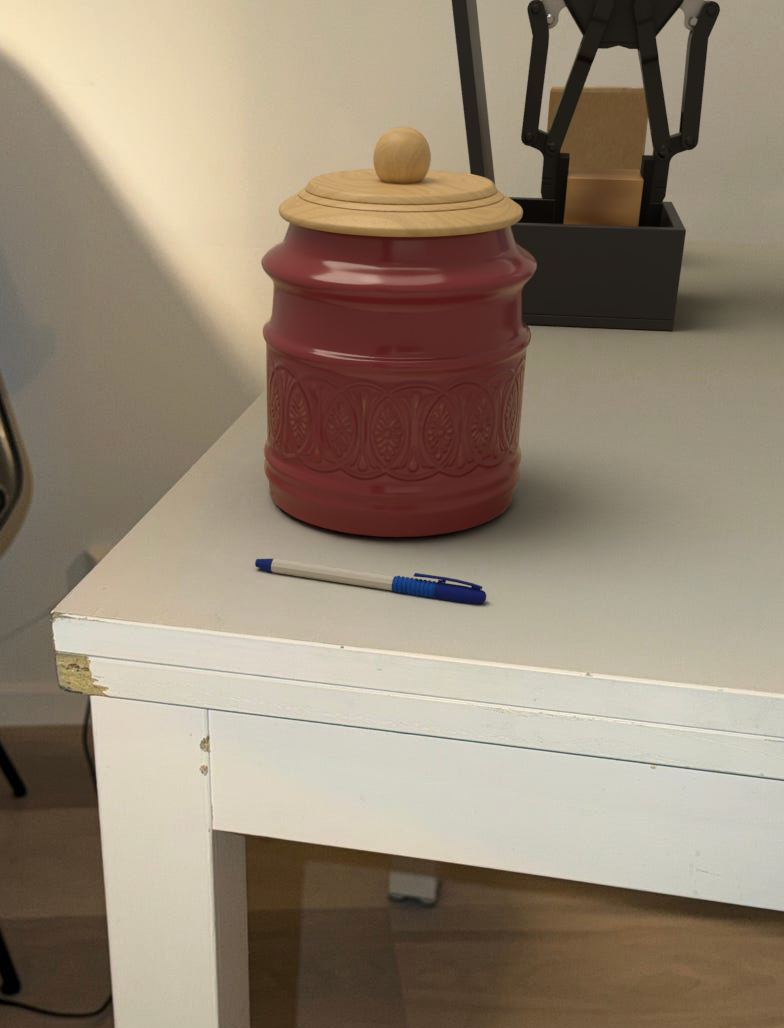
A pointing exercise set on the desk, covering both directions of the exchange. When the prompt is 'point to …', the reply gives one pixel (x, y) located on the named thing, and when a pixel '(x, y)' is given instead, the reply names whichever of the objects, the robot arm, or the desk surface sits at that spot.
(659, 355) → the desk surface
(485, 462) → the kitchen canister
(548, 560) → the desk surface
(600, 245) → the dark grey storage bin
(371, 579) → the ballpoint pen
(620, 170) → the block
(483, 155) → the black box cover
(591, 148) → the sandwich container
